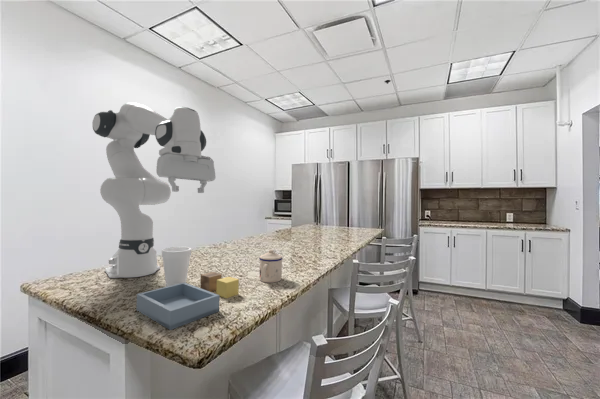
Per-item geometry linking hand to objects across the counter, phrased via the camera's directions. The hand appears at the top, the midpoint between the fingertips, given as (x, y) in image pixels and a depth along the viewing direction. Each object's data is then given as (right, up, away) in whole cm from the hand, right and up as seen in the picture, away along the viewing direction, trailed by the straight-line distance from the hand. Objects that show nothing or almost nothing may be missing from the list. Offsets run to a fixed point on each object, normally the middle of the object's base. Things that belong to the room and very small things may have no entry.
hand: (188, 192), depth 93 cm
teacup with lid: (+27, -34, +11) cm, 45 cm away
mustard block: (+15, -34, -5) cm, 37 cm away
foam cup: (-6, -34, +3) cm, 34 cm away
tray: (+5, -34, -18) cm, 38 cm away
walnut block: (+7, -34, +1) cm, 35 cm away
